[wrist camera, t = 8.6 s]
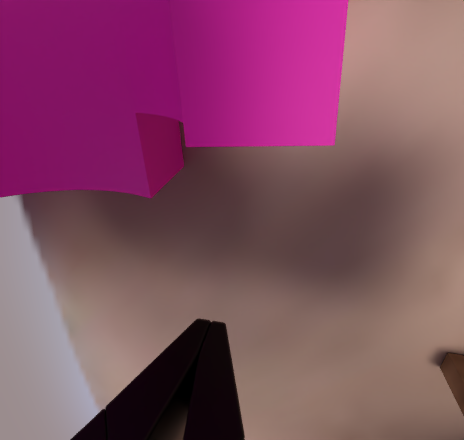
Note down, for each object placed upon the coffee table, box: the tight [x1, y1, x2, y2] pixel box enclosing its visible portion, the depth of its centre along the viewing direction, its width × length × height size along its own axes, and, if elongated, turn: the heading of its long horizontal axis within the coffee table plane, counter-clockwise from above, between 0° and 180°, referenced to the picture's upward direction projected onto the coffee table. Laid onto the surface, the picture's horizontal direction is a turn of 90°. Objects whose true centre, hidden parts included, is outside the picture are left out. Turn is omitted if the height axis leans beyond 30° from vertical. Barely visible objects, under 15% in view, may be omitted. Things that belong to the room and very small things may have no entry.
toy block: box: [0, 0, 348, 199], centre depth 8 cm, size 15×6×8 cm, turn 93°
